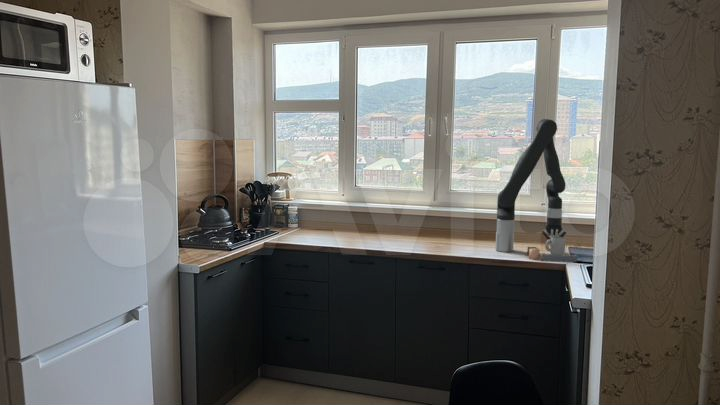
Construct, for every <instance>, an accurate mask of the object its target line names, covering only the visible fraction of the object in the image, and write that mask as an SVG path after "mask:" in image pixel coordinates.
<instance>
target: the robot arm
mask: <svg viewBox="0 0 720 405" xmlns="http://www.w3.org/2000/svg"><path fill="white" fill-rule="evenodd" d="M535 127H536V134H535V136H534V138H533V140H532V142H531V143H530V144H529V146H527V148H526V149H524V151H523V152H522V154H521V155H520V156H519V158H518V160H517V162H516V163H515V166H514V168H513V170H512V172H511V176H510V178H509V180H508V182H507V183H506V184H505V186H504V188H503V189H502V190H501V191H499V192H498V195H497V202H496V203H497V206H496V208H497V209H496V230H495V251H496V252H504V253H509V252H511V253H512V252H514V242H515V238H514V237H515V218H516V217H515V216H516V215H515V211H516V210H515V208H516V201H517V198H518V196H519V193H520V191H521V189H522V188H523V186H524V184H525V183H526V182H527V181H528V179H529V177H530V176H531V174H532V173H533V171H534V169H535V168H536V166H537V164H538V162H539V161H540V159H541V157H542V155H543V158H544V164H545V165H544V166H545V171H546V174H547V176H549V177H550V179H549V180H548V181H547V183H546V186H545V190H546V194H547V200H548V201H547V211H546V212H547V213H546V226H545V229H543V230H541V233H542V234H543V236H544V237H545V238H546V239H547V240H549V239H551V237H552V236H560V237H565V236H566V234H567V232H566V231H565V230H564V229H563V227H562V222H563V210H562V209H563V199H562V198H561V197H560V195H559V194H561V193H563V192H564V191H565V190H566V187H567V186H566V181H565V177H564V176H563V173H562V171H561V165H560V159H559V155H558V154H557V150H556V147H555V143H554V136H555V135H556V134H557V132H558V125H557V122H556V121H554V120H553V119H548V118H544V119H543V118H542V119H541V120H539V121H538V122H537V124H536V126H535ZM547 240H546V241H547ZM549 246H550V247H551V242H549ZM550 247H549V248H550Z"/></svg>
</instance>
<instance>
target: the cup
mask: <svg viewBox="0 0 720 405" xmlns="http://www.w3.org/2000/svg"><path fill="white" fill-rule="evenodd" d="M550 242H551V247H549V246H550ZM544 246H545V250H546V251H547V252H549V254H550V255H566V254H565V253H566V237H565V236H563V237H560V236H559V235H557V236H554V235H553V236H552V237H551V239H549V240H546V241H545V245H544Z"/></svg>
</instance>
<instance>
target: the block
mask: <svg viewBox="0 0 720 405" xmlns="http://www.w3.org/2000/svg"><path fill="white" fill-rule="evenodd" d="M530 248H537V249H539V248H538V247H536V246H527V255H528V256H529V249H530Z"/></svg>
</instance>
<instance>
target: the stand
mask: <svg viewBox="0 0 720 405" xmlns="http://www.w3.org/2000/svg"><path fill="white" fill-rule="evenodd" d="M541 254H542V255H541V257H542V261H543V260H550V261H549V262H566V261H567V262H569V263H570V262H572V263H577V262H578V255H577V254H572V255H569V254H568V255H567V254H564V255H552V254H550V253H549V254H548V253H544V252H542V253H541Z"/></svg>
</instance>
